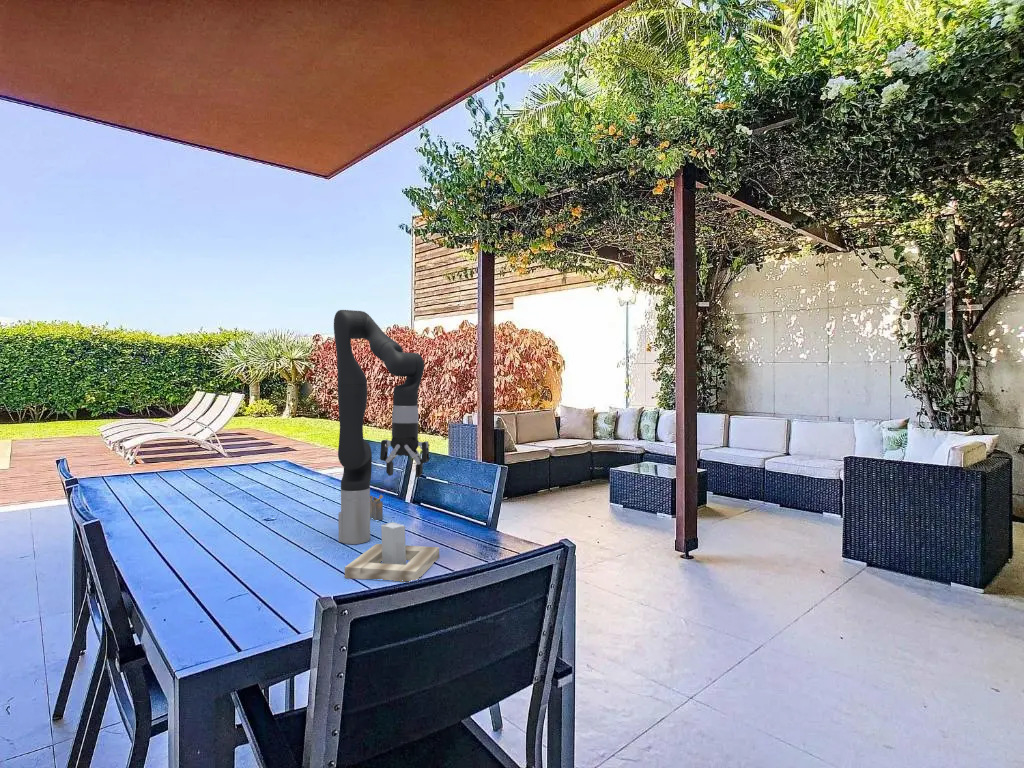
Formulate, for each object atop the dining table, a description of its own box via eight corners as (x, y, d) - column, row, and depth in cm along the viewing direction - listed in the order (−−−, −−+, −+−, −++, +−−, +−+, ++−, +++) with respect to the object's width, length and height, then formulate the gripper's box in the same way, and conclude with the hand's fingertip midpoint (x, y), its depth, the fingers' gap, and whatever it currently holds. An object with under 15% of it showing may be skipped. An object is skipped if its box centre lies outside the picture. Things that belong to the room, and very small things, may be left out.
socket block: (344, 578, 155) (344, 567, 155) (376, 553, 176) (376, 543, 176) (415, 582, 152) (415, 571, 152) (439, 557, 172) (439, 547, 172)
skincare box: (406, 567, 163) (406, 525, 163) (393, 571, 160) (393, 528, 160) (393, 562, 168) (393, 521, 167) (380, 566, 164) (380, 524, 164)
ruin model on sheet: (383, 521, 214) (383, 495, 214) (376, 522, 213) (375, 496, 212) (373, 515, 224) (373, 490, 224) (366, 516, 222) (365, 491, 222)
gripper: (376, 421, 166) (376, 477, 166) (423, 422, 163) (423, 480, 163) (387, 418, 173) (386, 472, 173) (432, 420, 170) (431, 475, 171)
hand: (404, 476), depth 168 cm, fingers open, 8 cm apart
